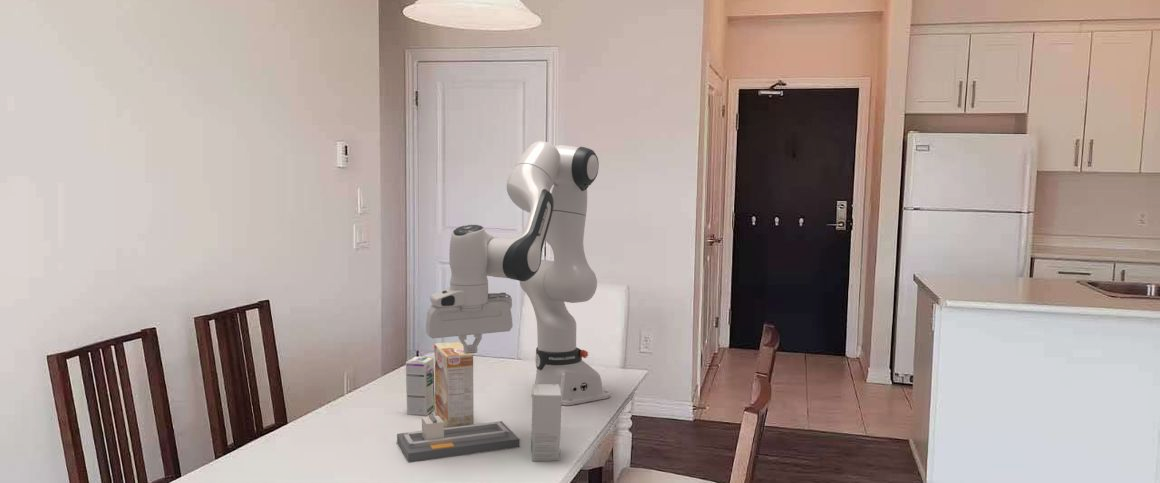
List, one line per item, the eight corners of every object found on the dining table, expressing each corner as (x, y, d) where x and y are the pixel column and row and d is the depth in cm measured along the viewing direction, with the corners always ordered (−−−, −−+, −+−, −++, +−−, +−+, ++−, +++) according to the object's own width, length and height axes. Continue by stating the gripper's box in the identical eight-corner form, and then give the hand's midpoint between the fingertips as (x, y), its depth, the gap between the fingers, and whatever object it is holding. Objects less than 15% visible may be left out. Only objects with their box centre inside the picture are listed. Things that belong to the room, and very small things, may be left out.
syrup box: (426, 416, 209) (426, 362, 207) (405, 414, 210) (405, 360, 208) (435, 409, 214) (434, 356, 213) (414, 408, 215) (414, 355, 214)
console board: (501, 428, 199) (501, 417, 199) (519, 447, 186) (519, 434, 186) (397, 441, 189) (396, 429, 188) (408, 462, 176) (408, 449, 176)
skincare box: (531, 448, 185) (531, 383, 184) (559, 448, 186) (559, 383, 184) (531, 462, 177) (532, 393, 175) (561, 461, 177) (562, 393, 176)
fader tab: (438, 434, 188) (438, 413, 187) (443, 440, 183) (443, 419, 183) (422, 436, 186) (421, 415, 186) (426, 443, 182) (426, 421, 181)
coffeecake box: (434, 415, 209) (433, 343, 207) (460, 413, 211) (460, 341, 210) (446, 433, 195) (445, 355, 193) (474, 430, 198) (474, 353, 196)
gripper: (507, 289, 192) (508, 345, 194) (423, 296, 184) (425, 354, 186) (515, 294, 186) (516, 351, 188) (429, 300, 178) (431, 360, 180)
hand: (470, 352), depth 187 cm, fingers closed
